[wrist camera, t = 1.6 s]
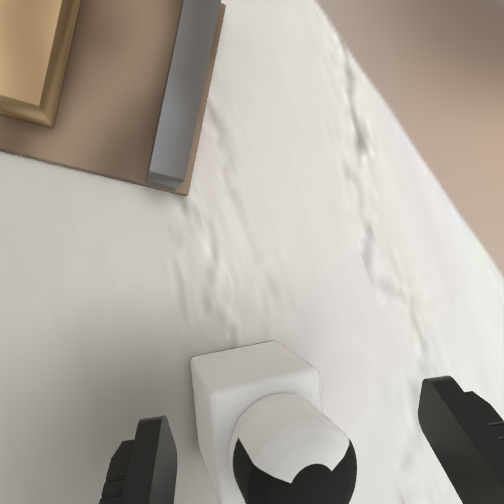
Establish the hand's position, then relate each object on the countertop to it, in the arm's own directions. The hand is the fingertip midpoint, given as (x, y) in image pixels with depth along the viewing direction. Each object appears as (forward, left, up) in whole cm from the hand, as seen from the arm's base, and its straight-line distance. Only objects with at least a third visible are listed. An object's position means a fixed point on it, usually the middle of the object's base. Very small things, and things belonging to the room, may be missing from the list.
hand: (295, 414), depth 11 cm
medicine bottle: (+5, -6, -17) cm, 19 cm away
